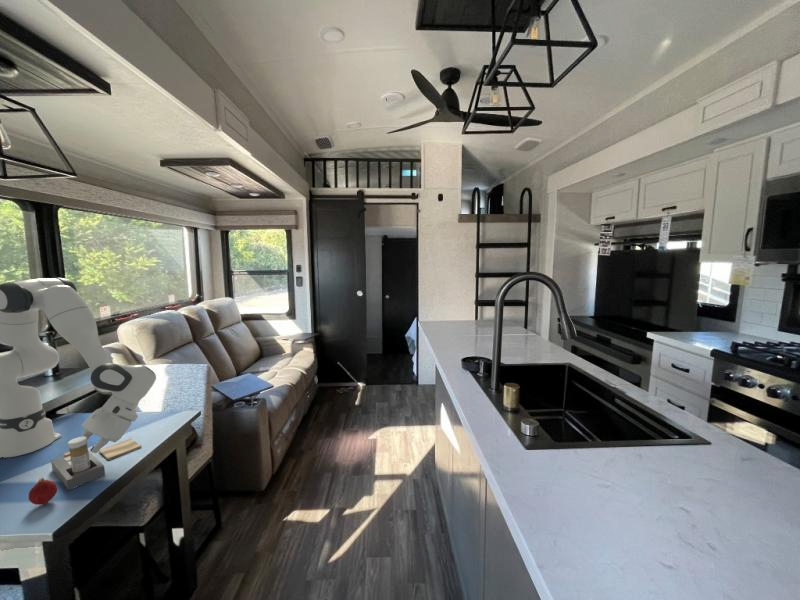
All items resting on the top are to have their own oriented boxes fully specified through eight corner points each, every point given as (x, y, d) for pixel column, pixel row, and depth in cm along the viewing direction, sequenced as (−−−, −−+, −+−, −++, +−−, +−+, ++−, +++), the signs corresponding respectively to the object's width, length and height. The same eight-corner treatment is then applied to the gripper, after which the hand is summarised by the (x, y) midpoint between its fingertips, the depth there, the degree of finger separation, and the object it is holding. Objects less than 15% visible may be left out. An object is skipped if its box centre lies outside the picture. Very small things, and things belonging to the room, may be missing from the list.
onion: (59, 503, 99) (55, 478, 98) (30, 514, 95) (26, 488, 94) (58, 494, 103) (54, 470, 102) (30, 504, 99) (26, 479, 98)
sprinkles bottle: (79, 474, 113) (73, 437, 111) (95, 472, 114) (90, 435, 112) (69, 483, 109) (63, 444, 107) (86, 480, 110) (80, 442, 108)
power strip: (48, 464, 119) (46, 453, 119) (81, 452, 127) (80, 441, 126) (68, 490, 105) (66, 478, 104) (105, 475, 112) (103, 463, 112)
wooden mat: (99, 452, 126) (98, 450, 126) (131, 440, 134) (131, 438, 134) (108, 460, 121) (108, 458, 121) (141, 447, 129) (141, 445, 129)
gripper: (95, 400, 122) (63, 439, 114) (123, 411, 112) (90, 453, 105) (112, 407, 126) (82, 444, 119) (140, 418, 117) (110, 459, 109)
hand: (86, 449), depth 112 cm, fingers open, 8 cm apart
